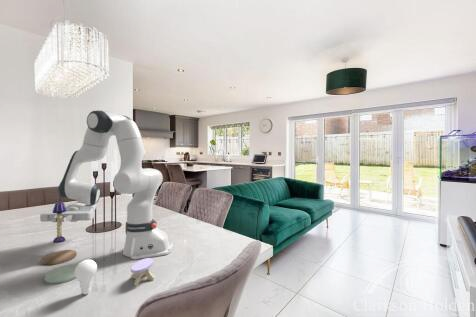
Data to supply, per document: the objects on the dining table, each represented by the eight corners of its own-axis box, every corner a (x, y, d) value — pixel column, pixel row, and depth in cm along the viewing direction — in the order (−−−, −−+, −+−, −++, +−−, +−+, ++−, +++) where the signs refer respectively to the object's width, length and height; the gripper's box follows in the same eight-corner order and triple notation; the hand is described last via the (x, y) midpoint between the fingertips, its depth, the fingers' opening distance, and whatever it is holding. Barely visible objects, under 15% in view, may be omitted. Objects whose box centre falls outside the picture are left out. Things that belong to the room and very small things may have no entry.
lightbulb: (77, 302, 68) (77, 267, 68) (72, 294, 72) (72, 260, 72) (99, 293, 72) (99, 260, 72) (93, 286, 77) (94, 254, 76)
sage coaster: (90, 265, 91) (90, 262, 91) (74, 282, 79) (75, 278, 79) (57, 268, 88) (57, 265, 88) (36, 285, 76) (36, 281, 76)
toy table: (141, 289, 75) (142, 272, 75) (121, 283, 78) (122, 267, 78) (161, 274, 85) (161, 260, 84) (142, 270, 88) (142, 255, 88)
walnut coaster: (81, 251, 103) (81, 249, 103) (67, 263, 92) (67, 261, 92) (52, 253, 101) (52, 250, 101) (33, 266, 89) (33, 263, 89)
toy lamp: (49, 242, 95) (50, 203, 95) (61, 238, 99) (61, 201, 99) (57, 243, 93) (57, 204, 93) (68, 239, 98) (69, 202, 98)
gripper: (51, 206, 107) (30, 213, 93) (97, 205, 111) (84, 212, 97) (51, 219, 107) (30, 228, 93) (97, 217, 111) (84, 226, 97)
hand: (58, 220), depth 95 cm, fingers closed on toy lamp
